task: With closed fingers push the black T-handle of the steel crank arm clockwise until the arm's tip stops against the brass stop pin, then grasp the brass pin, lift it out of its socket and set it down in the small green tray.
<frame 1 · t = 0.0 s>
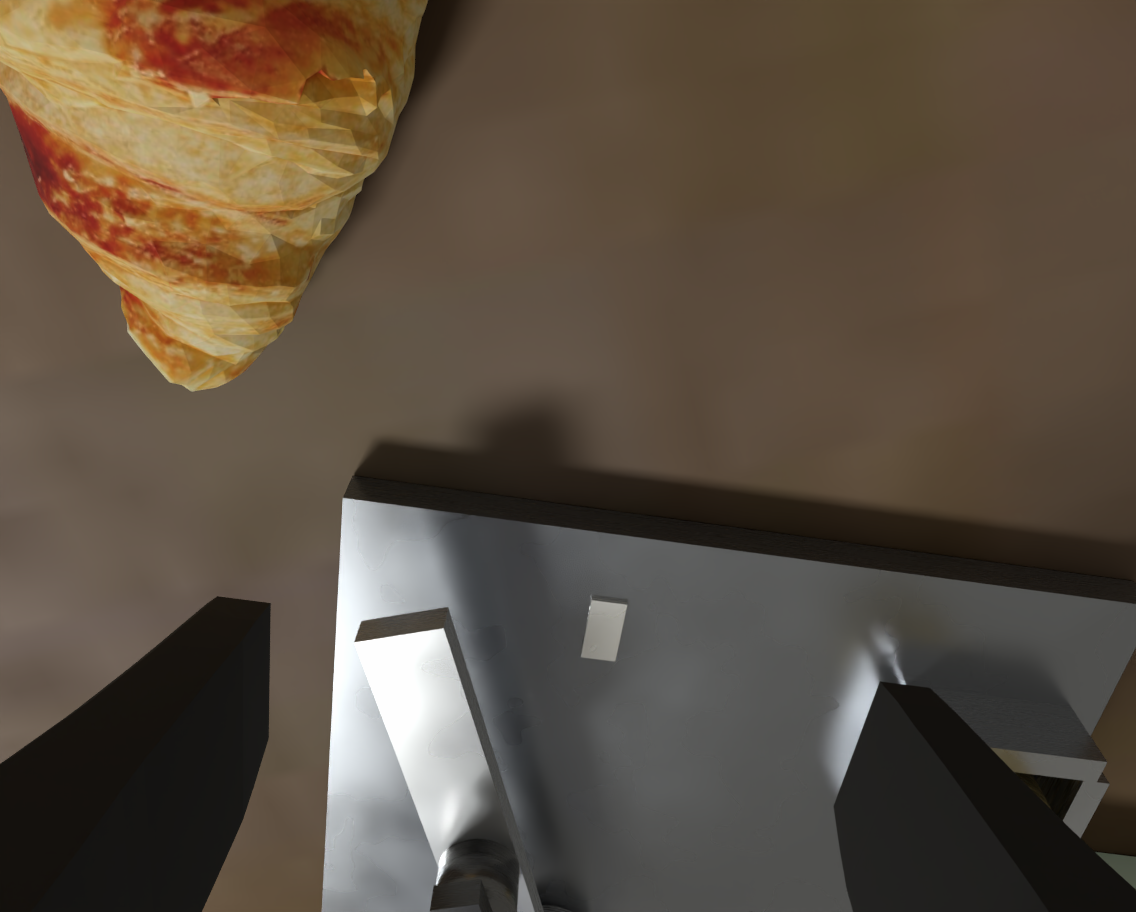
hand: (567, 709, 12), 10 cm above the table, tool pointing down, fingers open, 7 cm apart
crank plate: (660, 867, 27), on the table
stop pin: (956, 768, 24), point 1 cm above the table, touching crank plate
crank: (485, 870, 22), point 3 cm above the table, hinge at 20.0°
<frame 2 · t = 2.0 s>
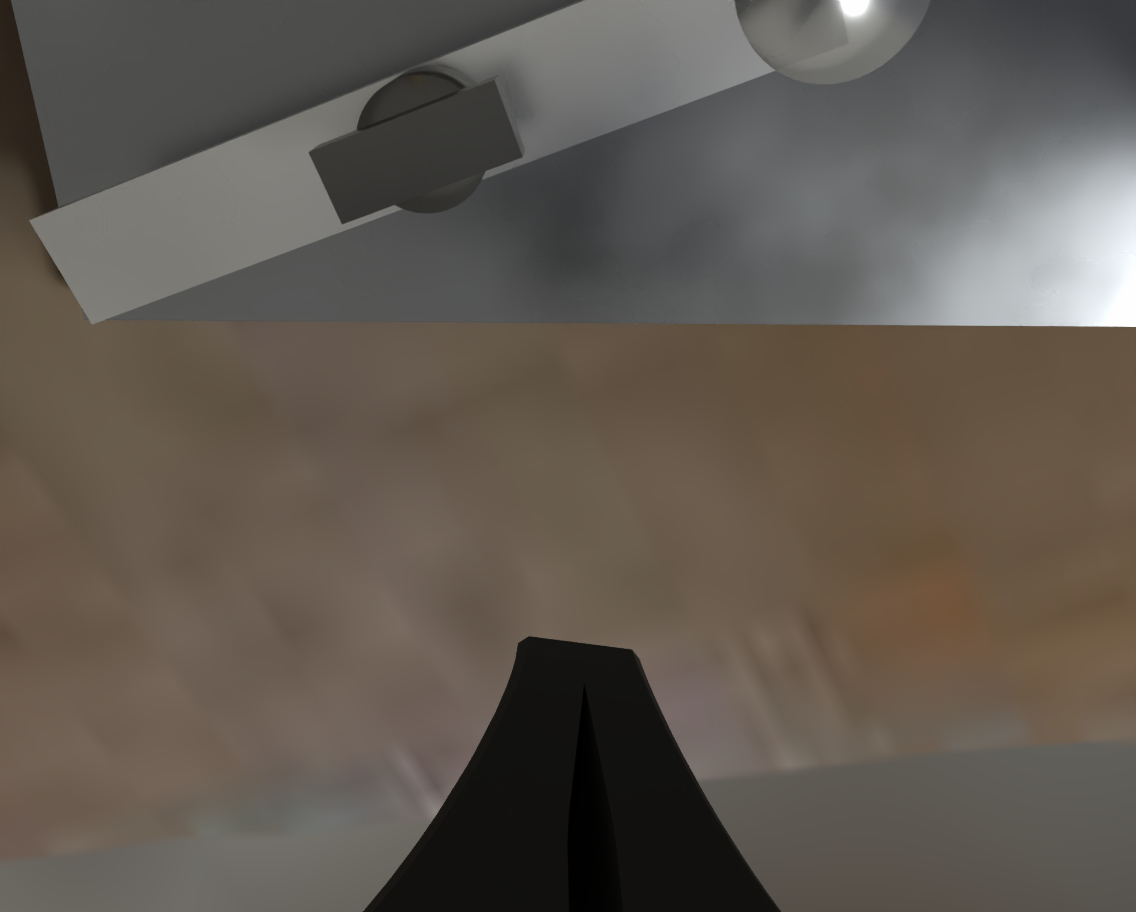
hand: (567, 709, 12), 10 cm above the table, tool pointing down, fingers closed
crank: (466, 116, 15), point 3 cm above the table, hinge at 20.0°
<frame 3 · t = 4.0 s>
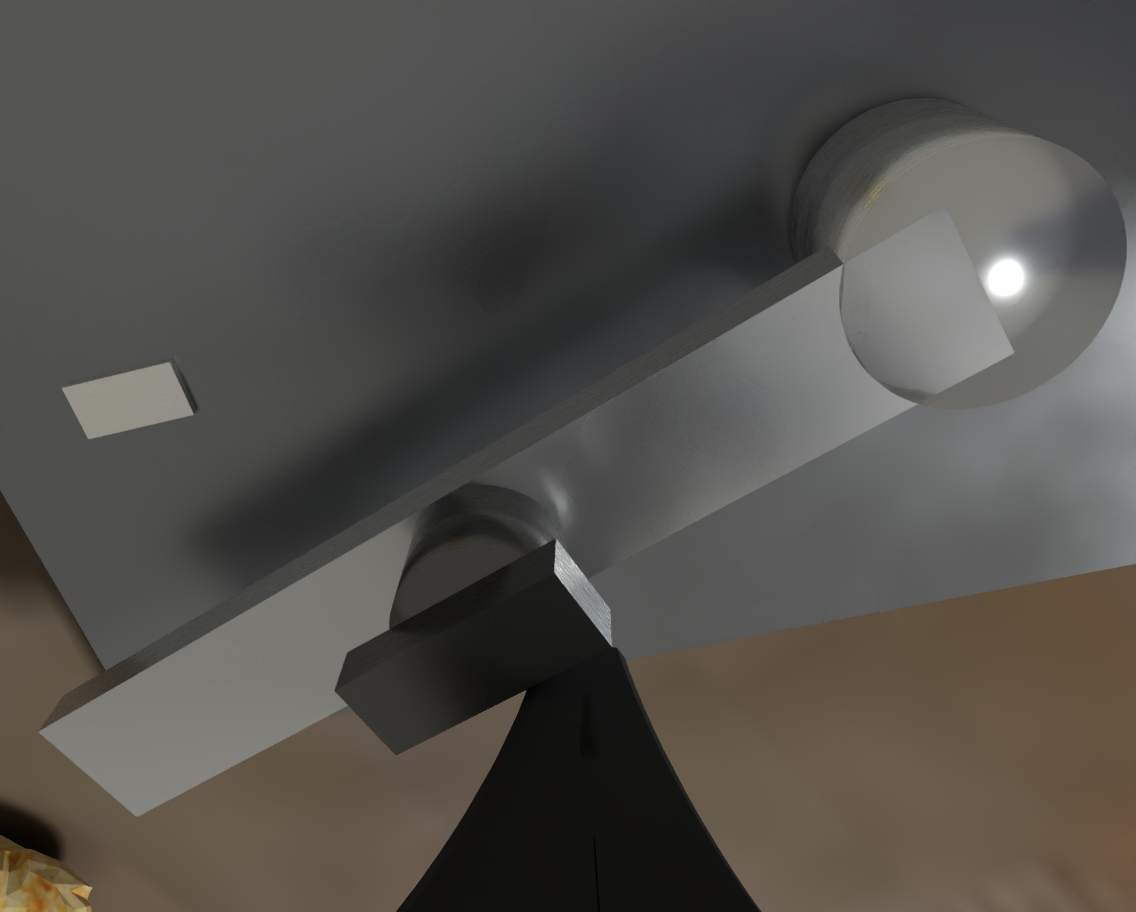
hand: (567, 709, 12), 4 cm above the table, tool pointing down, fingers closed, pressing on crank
crank: (522, 522, 12), point 3 cm above the table, hinge at 18.8°, touching gripper
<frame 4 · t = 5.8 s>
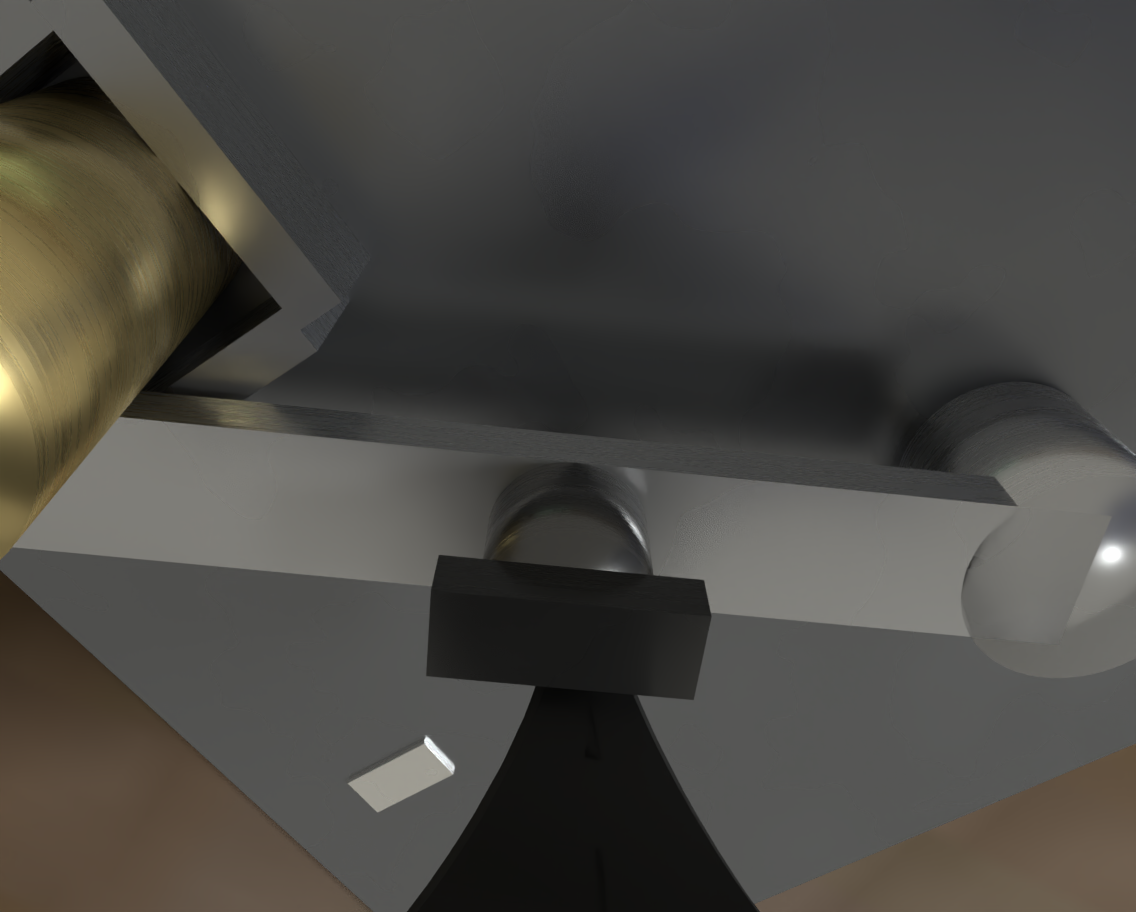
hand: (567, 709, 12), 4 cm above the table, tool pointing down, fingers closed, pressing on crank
crank plate: (754, 350, 14), on the table
stop pin: (125, 205, 12), point 1 cm above the table, touching crank, crank plate
crank: (606, 523, 11), point 3 cm above the table, hinge at -39.6°, touching gripper, stop pin
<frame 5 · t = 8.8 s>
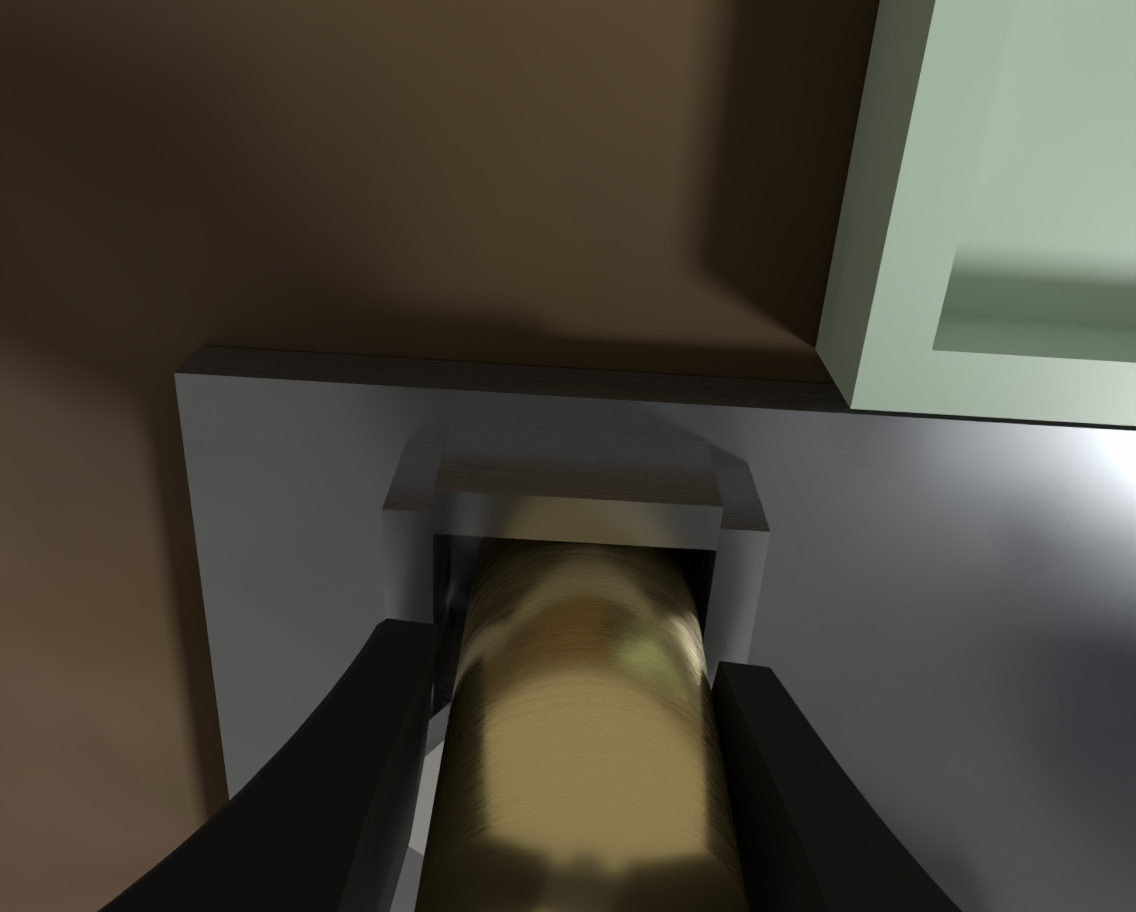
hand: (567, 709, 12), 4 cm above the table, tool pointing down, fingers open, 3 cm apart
crank plate: (860, 847, 18), on the table
stop pin: (582, 566, 14), point 1 cm above the table, touching crank plate, gripper
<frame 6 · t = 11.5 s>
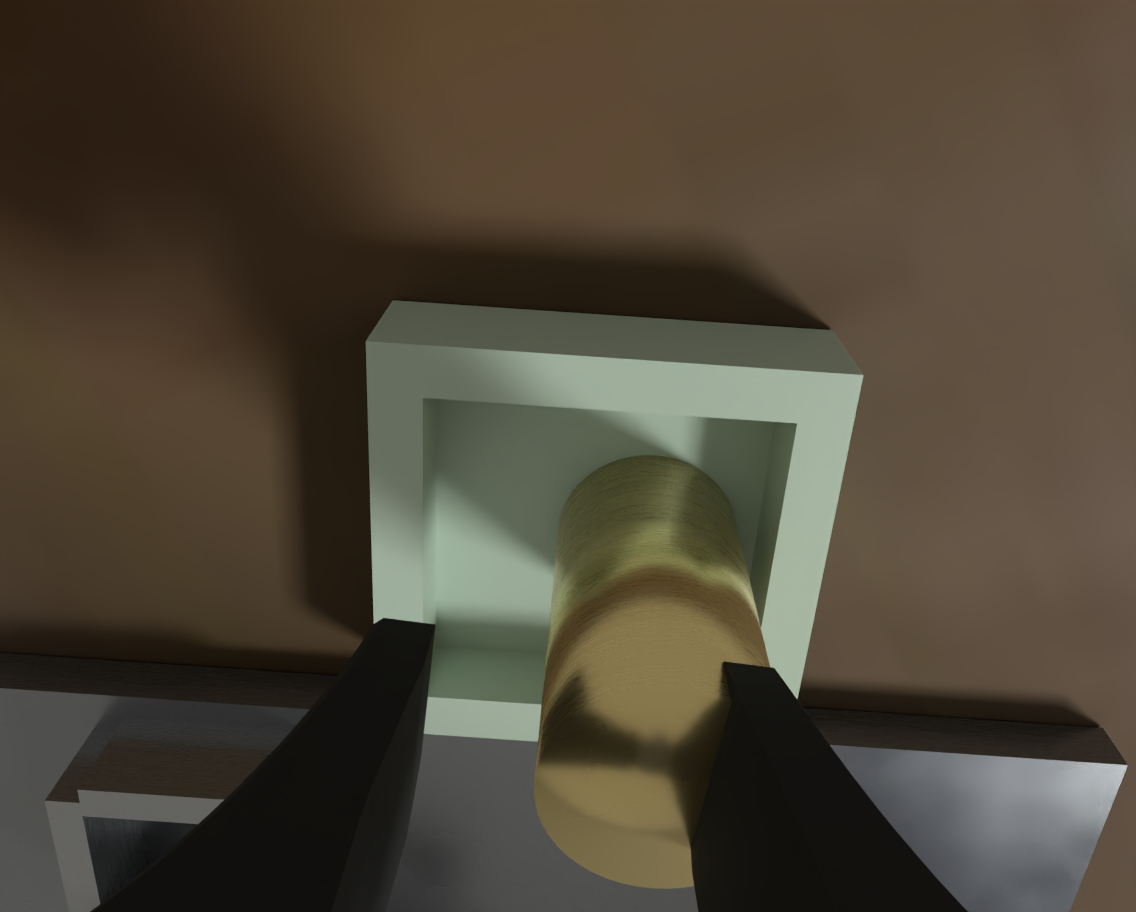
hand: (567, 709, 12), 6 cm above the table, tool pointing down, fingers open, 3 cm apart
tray: (596, 508, 17), on the table
stop pin: (646, 533, 17), point 1 cm above the table, touching gripper, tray
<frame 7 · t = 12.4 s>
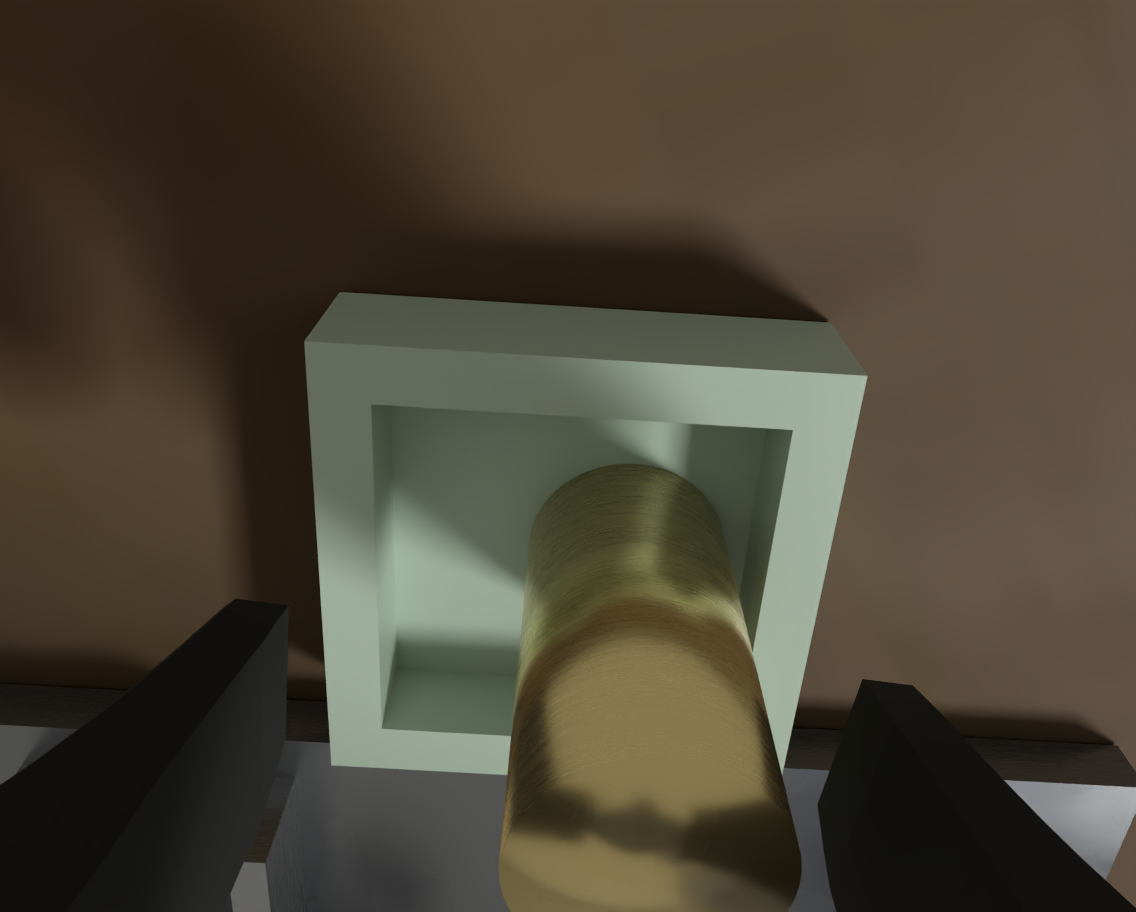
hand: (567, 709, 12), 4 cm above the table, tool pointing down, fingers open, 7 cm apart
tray: (571, 519, 16), on the table
stop pin: (626, 550, 15), point 1 cm above the table, touching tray
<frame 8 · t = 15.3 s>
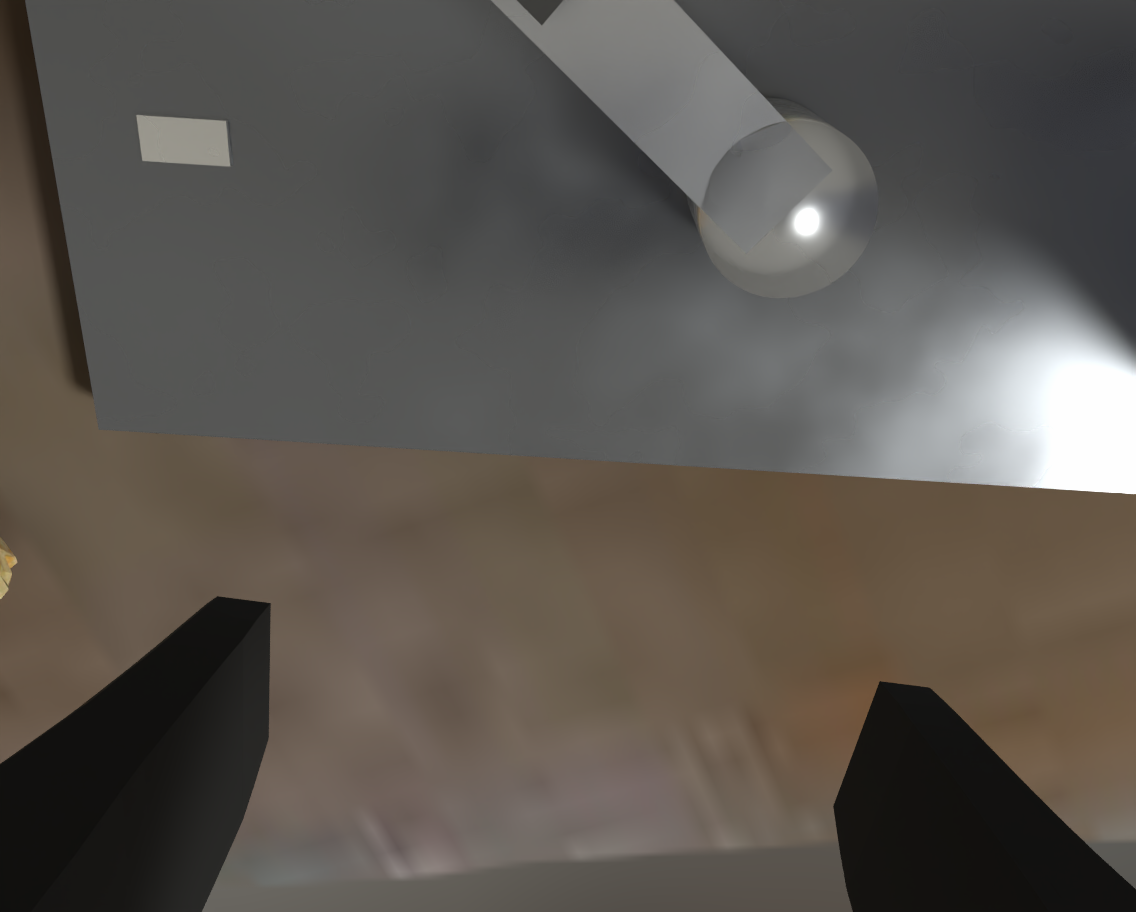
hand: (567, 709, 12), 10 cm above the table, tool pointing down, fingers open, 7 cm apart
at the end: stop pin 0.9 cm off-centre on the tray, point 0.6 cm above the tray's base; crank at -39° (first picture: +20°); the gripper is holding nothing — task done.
